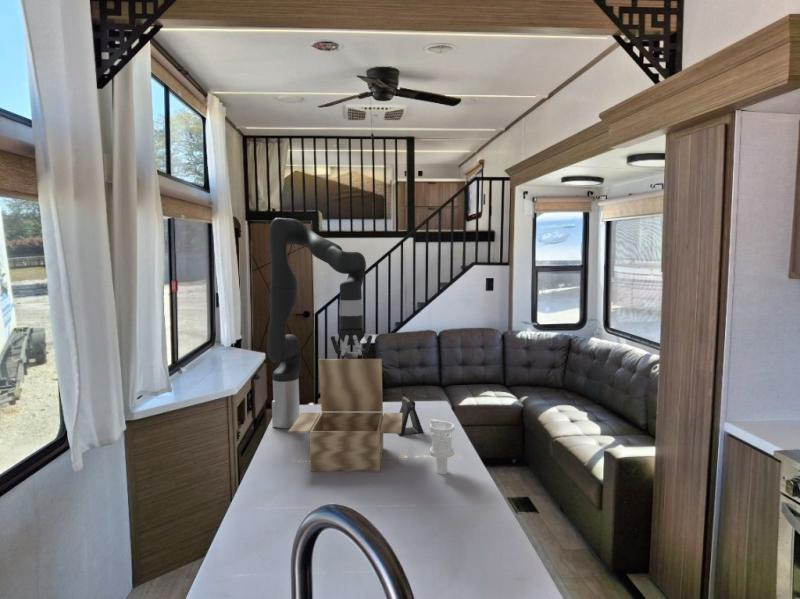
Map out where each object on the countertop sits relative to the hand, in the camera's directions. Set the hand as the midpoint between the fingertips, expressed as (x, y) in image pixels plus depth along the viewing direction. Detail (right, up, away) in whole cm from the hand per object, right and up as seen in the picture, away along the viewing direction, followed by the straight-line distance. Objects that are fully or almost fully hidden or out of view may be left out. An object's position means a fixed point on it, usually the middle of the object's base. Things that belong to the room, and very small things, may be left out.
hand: (352, 366), depth 166 cm
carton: (0, -27, -9) cm, 29 cm away
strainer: (+28, -28, -19) cm, 44 cm away
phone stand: (+19, -25, +15) cm, 35 cm away
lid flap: (0, -6, -3) cm, 7 cm away
